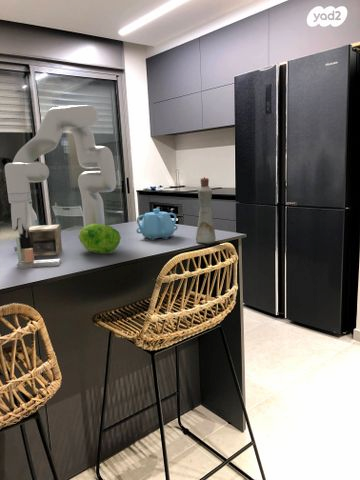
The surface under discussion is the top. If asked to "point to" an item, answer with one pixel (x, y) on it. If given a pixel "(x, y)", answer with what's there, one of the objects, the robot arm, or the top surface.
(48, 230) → the cabinet
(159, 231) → the decorative pot
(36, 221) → the milk bottle
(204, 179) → the bottle
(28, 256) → the fader knob
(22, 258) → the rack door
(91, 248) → the lettuce
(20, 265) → the fader strip
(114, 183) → the robot arm
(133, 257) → the top surface
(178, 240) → the top surface
